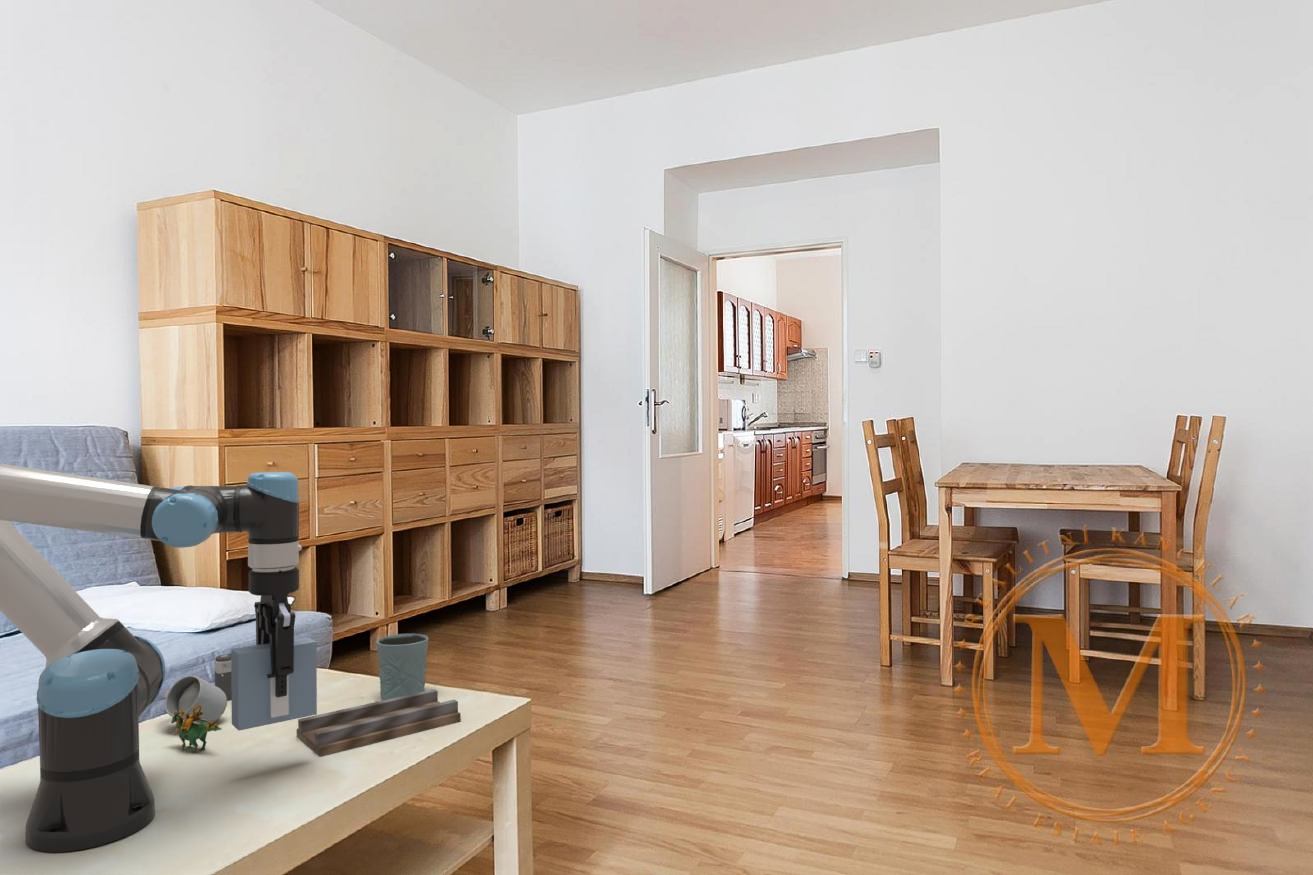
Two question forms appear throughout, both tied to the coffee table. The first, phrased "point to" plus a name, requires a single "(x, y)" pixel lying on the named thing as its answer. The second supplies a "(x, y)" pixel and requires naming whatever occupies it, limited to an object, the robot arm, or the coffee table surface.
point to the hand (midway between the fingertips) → (274, 711)
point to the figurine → (193, 728)
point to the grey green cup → (402, 664)
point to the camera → (223, 674)
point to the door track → (376, 722)
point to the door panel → (255, 685)
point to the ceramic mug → (195, 698)
